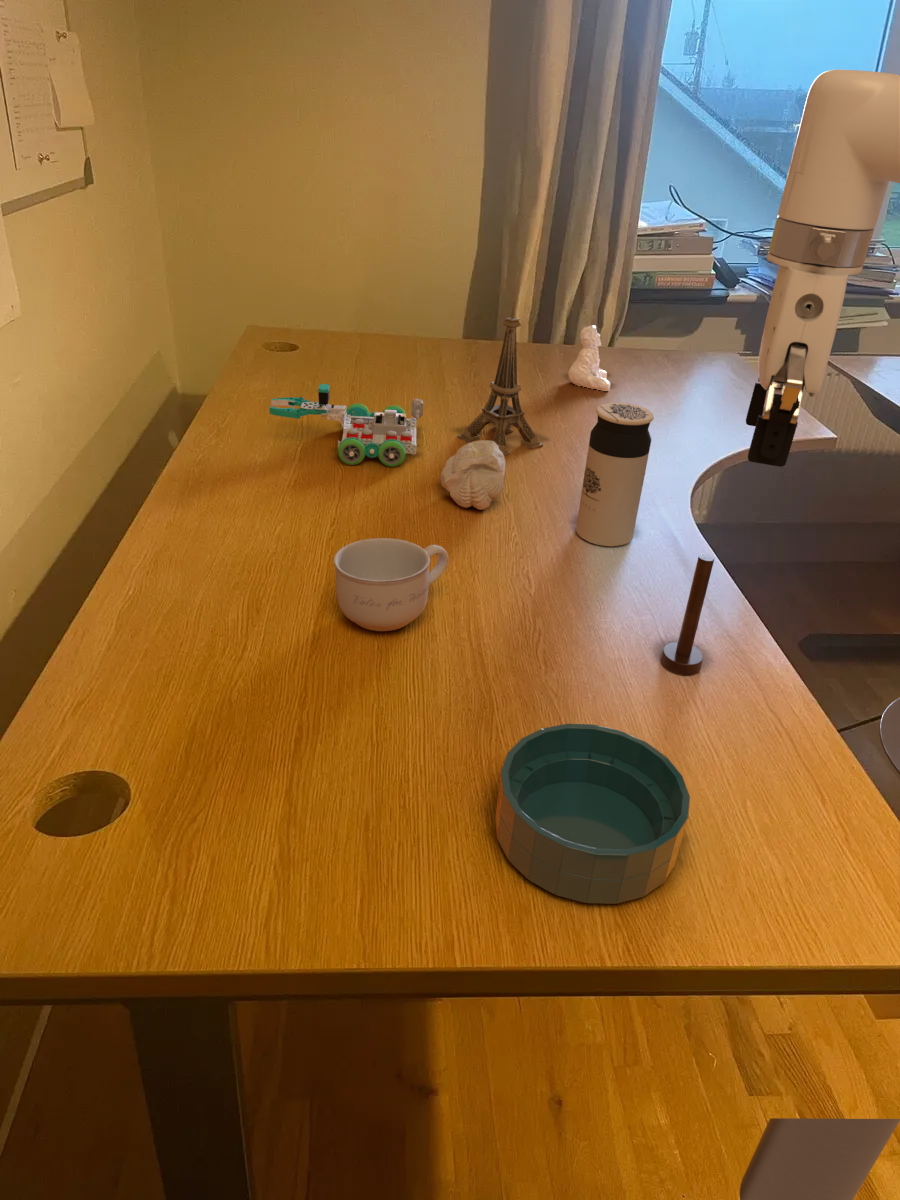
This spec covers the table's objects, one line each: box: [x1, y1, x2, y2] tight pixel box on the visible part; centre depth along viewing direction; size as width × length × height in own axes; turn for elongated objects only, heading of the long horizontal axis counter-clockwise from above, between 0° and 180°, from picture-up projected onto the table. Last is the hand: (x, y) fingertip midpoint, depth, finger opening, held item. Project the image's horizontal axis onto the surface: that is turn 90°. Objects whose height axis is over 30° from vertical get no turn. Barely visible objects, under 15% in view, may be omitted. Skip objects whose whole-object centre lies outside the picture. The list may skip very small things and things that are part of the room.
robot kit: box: [268, 383, 424, 468], centre depth 145 cm, size 19×25×9 cm
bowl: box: [494, 723, 691, 905], centre depth 74 cm, size 15×15×6 cm
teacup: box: [333, 537, 449, 632], centre depth 101 cm, size 14×11×8 cm
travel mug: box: [575, 402, 655, 547], centre depth 120 cm, size 8×8×18 cm
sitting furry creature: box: [567, 324, 612, 392], centre depth 181 cm, size 10×9×12 cm
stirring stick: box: [660, 553, 715, 677], centre depth 95 cm, size 4×4×14 cm
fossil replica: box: [439, 439, 507, 511], centre depth 130 cm, size 12×8×10 cm
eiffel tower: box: [456, 293, 544, 457], centre depth 147 cm, size 11×11×25 cm
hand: (763, 443), depth 81 cm, fingers open, 9 cm apart
